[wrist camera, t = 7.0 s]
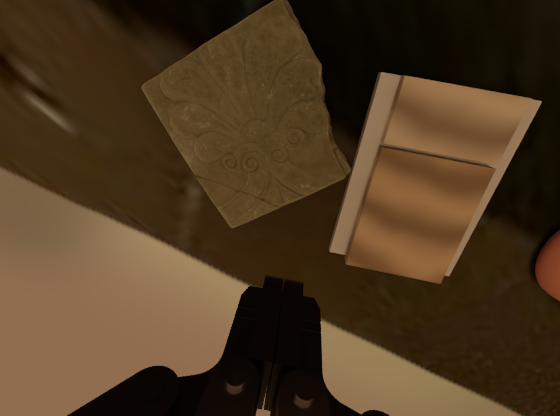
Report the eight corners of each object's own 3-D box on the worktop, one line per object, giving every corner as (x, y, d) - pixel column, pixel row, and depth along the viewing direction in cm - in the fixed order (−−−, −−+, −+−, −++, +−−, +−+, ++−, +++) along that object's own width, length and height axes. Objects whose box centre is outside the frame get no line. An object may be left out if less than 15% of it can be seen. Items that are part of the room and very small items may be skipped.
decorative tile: (235, 221, 40) (228, 234, 37) (150, 84, 34) (132, 84, 31) (362, 167, 35) (367, 177, 32) (291, -8, 29) (287, -19, 25)
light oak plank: (401, 75, 29) (405, 75, 27) (521, 97, 28) (531, 98, 27) (380, 140, 31) (383, 143, 30) (489, 161, 31) (497, 165, 30)
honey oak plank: (379, 144, 32) (382, 147, 30) (487, 165, 31) (495, 169, 30) (344, 257, 38) (345, 264, 36) (435, 276, 37) (440, 283, 36)
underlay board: (378, 72, 30) (381, 72, 29) (531, 100, 30) (542, 101, 28) (328, 245, 40) (329, 251, 38) (444, 269, 39) (449, 276, 38)
